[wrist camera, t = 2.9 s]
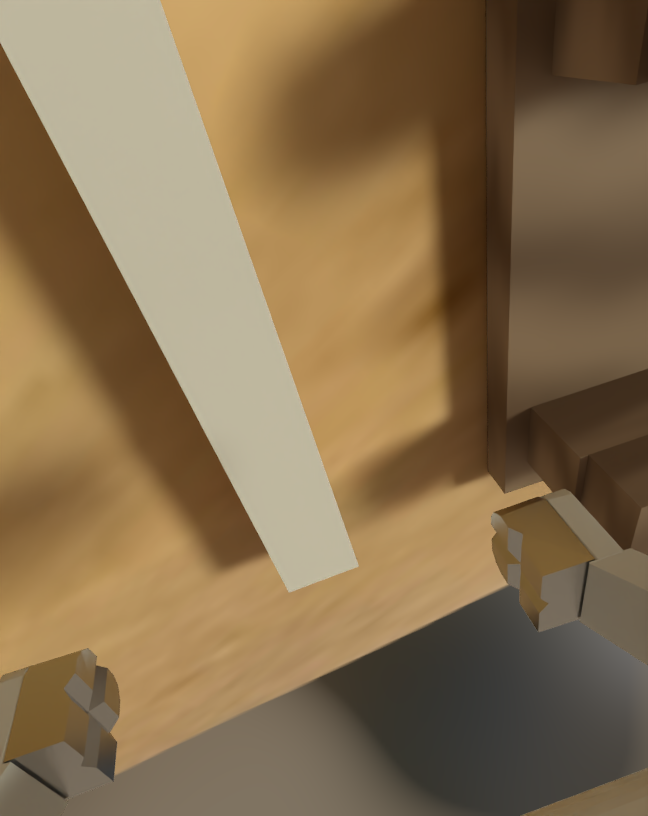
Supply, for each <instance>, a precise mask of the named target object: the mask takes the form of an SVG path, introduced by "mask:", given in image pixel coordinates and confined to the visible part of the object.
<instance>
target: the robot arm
mask: <svg viewBox="0 0 648 816" xmlns="http://www.w3.org/2000/svg"><path fill="white" fill-rule="evenodd" d="M491 525H492V527H493V528H494V530H495V531H496V534H495V535H494V537H493V538H492V551H493V554H494V557H495V560H496V563H497V565H498V568H499V570H500V572H501V574H502V575H503V577H504V579H505V580H506V582H507V584H509V585H511V586H513V587H515V588H517V589H519V590H520V604H521V606H522V608H523V609H524V611H525V612H526V614H527V615H528V617H529V619H530V620H531V622H532V623H533V625H534V627H535V628H536V630H537V631H538V632H541V631H544V630H547V629H550V628H553V627H557V626H560V625H563V624H566V623H569V622H572V621H576V620H579V619H580V622H581V623H583V624H584V625H586V626H588V627H589V628H590V629H592V630H594V631H595V632H597V633H598V634H600V635H601V636H603V637H604V638H606V639H608V640H609V641H611V642H612V643H614V644H615V645H617V646H618V647H620V648H622V649H623V650H625V651H626V652H628V653H629V654H631V655H632V656H634V657H635V658H637V659H638V660H640V661H642V662H643V663H645V664H646V665H648V555H646V554H643V553H641V552H639V551H636V550H634V549H632V548H630V549H626V550H623V549H622V548H621V547H620V546H619V545H618V544H617V543H616V542H615V540H614V539H613V538H612V537H611V536H610V535H609V534H608V533H607V532H606V530H605V529H604V528H603V527H602V526H601V525H600V524H599V523H598V522H597V521H596V519H595V518H594V517H593V516H592V515H591V514H590V513H589V512H588V511H587V510H586V508H585V507H584V506H583V505H582V504H581V503H580V502H579V501H578V500H577V498H576V497H575V496H574V495H573V494H572V493H571V492H570V491H568V490H566V489H561V490H558V491H555V492H552V493H550V494H547V495H544V496H541V497H536V498H533V499H530V500H527V501H524V502H521V503H518V504H516V505H513V506H510V507H507V508H504V509H501V510H498V511H496V512H493V514H492V516H491ZM96 660H97V656H96V655H95V654H94V653H93V652H92V651H91V650H89V649H88V648H87V649H84V650H81V651H77V652H74V653H71V654H68V655H65V656H61V657H58V658H55V659H52V660H49V661H45V662H42V663H39V664H36V665H32V666H29V667H26V668H23V669H20V670H17V671H14V672H11V673H8V674H5V675H3V676H2V677H1V679H0V816H61V815H62V814H63V812H64V810H65V808H66V806H67V804H68V801H67V799H69V798H72V797H74V796H77V795H80V794H82V793H85V792H88V791H90V790H93V789H96V788H98V787H101V786H103V785H106V784H109V783H111V782H114V771H115V760H116V749H117V741H116V740H115V739H114V737H113V736H112V734H111V733H110V731H111V730H112V728H113V726H114V725H115V723H116V721H117V720H118V718H119V712H120V696H119V689H118V684H117V682H116V680H115V677H114V675H113V674H112V673H111V672H110V670H109V669H108V668H104V667H100V666H96ZM522 816H648V768H646V769H644V770H641V771H638V772H636V773H633V774H630V775H628V776H625V777H622V778H620V779H617V780H615V781H612V782H609V783H606V784H604V785H601V786H598V787H596V788H593V789H590V790H588V791H585V792H582V793H580V794H578V795H574V796H572V797H569V798H566V799H564V800H561V801H559V802H556V803H553V804H550V805H548V806H545V807H543V808H540V809H538V810H535V811H532V812H529V813H527V814H524V815H522Z"/></svg>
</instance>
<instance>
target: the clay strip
mask: <svg viewBox="0 0 648 816" xmlns="http://www.w3.org/2000/svg"><path fill="white" fill-rule="evenodd" d="M0 43H1V45H2V47H3V49H4V51H5V53H6V55H7V57H8V58H9V60H10V62H11V64H12V66H13V68H14V70H15V72H16V74H17V76H18V77H19V79H20V81H21V83H22V85H23V87H24V89H25V91H26V93H27V95H28V97H29V98H30V100H31V102H32V104H33V106H34V108H35V110H36V112H37V114H38V116H39V117H40V119H41V121H42V123H43V125H44V127H45V129H46V131H47V133H48V135H49V136H50V138H51V140H52V142H53V144H54V146H55V148H56V150H57V152H58V154H59V156H60V157H61V159H62V161H63V163H64V165H65V167H66V169H67V171H68V173H69V175H70V176H71V178H72V180H73V182H74V184H75V186H76V188H77V190H78V192H79V194H80V196H81V197H82V199H83V201H84V203H85V205H86V207H87V209H88V211H89V213H90V215H91V216H92V218H93V220H94V222H95V224H96V226H97V228H98V230H99V232H100V234H101V236H102V237H103V239H104V241H105V243H106V245H107V247H108V249H109V251H110V253H111V255H112V256H113V258H114V260H115V262H116V264H117V266H118V268H119V270H120V272H121V274H122V275H123V277H124V279H125V281H126V283H127V285H128V287H129V289H130V291H131V293H132V295H133V296H134V298H135V300H136V302H137V304H138V306H139V308H140V310H141V312H142V314H143V315H144V317H145V319H146V321H147V323H148V325H149V327H150V329H151V331H152V333H153V335H154V336H155V338H156V340H157V342H158V344H159V346H160V348H161V350H162V352H163V354H164V355H165V357H166V359H167V361H168V363H169V365H170V367H171V369H172V371H173V373H174V375H175V376H176V378H177V380H178V382H179V384H180V386H181V388H182V390H183V392H184V394H185V395H186V397H187V399H188V401H189V403H190V405H191V407H192V409H193V411H194V413H195V415H196V416H197V418H198V420H199V422H200V424H201V426H202V428H203V430H204V432H205V434H206V435H207V437H208V439H209V441H210V443H211V445H212V447H213V449H214V451H215V453H216V454H217V456H218V458H219V460H220V462H221V464H222V466H223V468H224V470H225V472H226V474H227V475H228V477H229V479H230V481H231V483H232V485H233V487H234V489H235V491H236V493H237V494H238V496H239V498H240V500H241V502H242V504H243V506H244V508H245V510H246V512H247V514H248V515H249V517H250V519H251V521H252V523H253V525H254V527H255V529H256V531H257V533H258V534H259V536H260V538H261V540H262V542H263V544H264V546H265V548H266V550H267V552H268V554H269V555H270V557H271V559H272V561H273V563H274V565H275V567H276V569H277V571H278V573H279V574H280V576H281V578H282V580H283V582H284V584H285V586H286V588H287V590H288V592H292V591H295V590H297V589H300V588H303V587H305V586H308V585H311V584H313V583H316V582H319V581H321V580H324V579H327V578H329V577H332V576H335V575H337V574H340V573H343V572H345V571H348V570H351V569H353V568H356V567H359V566H358V563H357V560H356V557H355V554H354V551H353V549H352V546H351V543H350V540H349V537H348V534H347V531H346V529H345V526H344V523H343V520H342V517H341V514H340V511H339V509H338V506H337V503H336V500H335V497H334V494H333V492H332V489H331V486H330V483H329V480H328V477H327V474H326V472H325V469H324V466H323V463H322V460H321V457H320V455H319V452H318V449H317V446H316V443H315V440H314V437H313V435H312V432H311V429H310V426H309V423H308V420H307V417H306V415H305V412H304V409H303V406H302V403H301V400H300V398H299V395H298V392H297V389H296V386H295V383H294V380H293V378H292V375H291V372H290V369H289V366H288V363H287V361H286V358H285V355H284V352H283V349H282V346H281V343H280V341H279V338H278V335H277V332H276V329H275V326H274V324H273V321H272V318H271V315H270V312H269V309H268V306H267V304H266V301H265V298H264V295H263V292H262V289H261V286H260V284H259V281H258V278H257V275H256V272H255V269H254V267H253V264H252V261H251V258H250V255H249V252H248V249H247V247H246V244H245V241H244V238H243V235H242V232H241V230H240V227H239V224H238V221H237V218H236V215H235V212H234V210H233V207H232V204H231V201H230V198H229V195H228V192H227V190H226V187H225V184H224V181H223V178H222V175H221V173H220V170H219V167H218V164H217V161H216V158H215V155H214V153H213V150H212V147H211V144H210V141H209V138H208V136H207V133H206V130H205V127H204V124H203V121H202V118H201V116H200V113H199V110H198V107H197V104H196V101H195V98H194V96H193V93H192V90H191V87H190V84H189V81H188V79H187V76H186V73H185V70H184V67H183V64H182V61H181V59H180V56H179V53H178V50H177V47H176V44H175V42H174V39H173V36H172V33H171V30H170V27H169V24H168V22H167V19H166V16H165V13H164V10H163V7H162V4H161V2H160V0H0Z"/></svg>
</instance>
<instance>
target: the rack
mask: <svg viewBox="0 0 648 816" xmlns="http://www.w3.org/2000/svg"><path fill="white" fill-rule="evenodd" d="M486 137H487V393H488V472H489V473H490V474H491V476H492V477H493V478H494V480H495V481H496V482H497V484H498V485H499V487H500V488H501V489H502V491H503V492H504V493H508V492H511V491H514V490H517V489H520V488H523V487H526V486H529V485H532V484H534V483H537V482H540V481H544V482H545V484H546V485H547V486H548V487H549V488H550V489H551V491H552V492H555V491H558V490H561V489H566V490H568V491H570V492H571V493H572V494H573V495H574V496H575V497H576V498H577V500H578V501H579V502H580V503H581V504H582V505H583V506H584V507H585V508H586V510H587V511H588V512H589V513H590V514H591V515H592V516H593V517H594V518H595V519H596V521H597V522H598V523H599V524H600V525H601V526H602V527H603V528H604V529H605V530H606V532H607V533H608V534H609V535H610V536H611V537H612V538H613V539H614V540H615V542H616V543H617V544H618V545H619V546H620V547H621V548H622V549H623V550H626V549H630V548H632V549H634V550H636V551H639V552H641V553H643V554H646V555H648V0H486Z"/></svg>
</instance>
